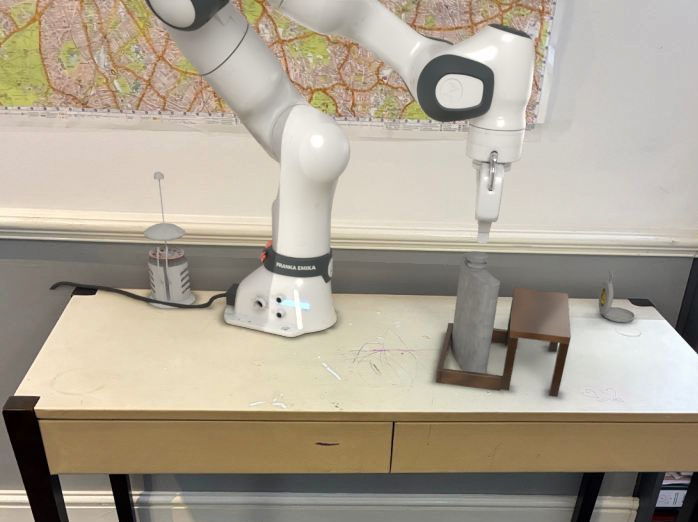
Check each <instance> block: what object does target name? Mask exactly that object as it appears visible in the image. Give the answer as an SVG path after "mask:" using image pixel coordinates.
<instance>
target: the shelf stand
mask: <svg viewBox="0 0 698 522" xmlns="http://www.w3.org/2000/svg"><path fill="white" fill-rule="evenodd" d="M570 320H571V319H570V305H569V294H568V293H565V292H558V291H550V290H549V291H548V290H539V289H531V288H522V287H513V292H512V298H511V304H510V311H509V317H508V322H507V326H506V327H507V328H506V329H504V328H495V327H493V333H492V339H491V343H499V344H504V346H505V347H506V352H505V359H504V365H503V371H502V375H499V374H493V373H486V374H485V373H477V372H469V371H463V370H462V369H461V370H460V369H453V368H446V364H447V358H448V354H449V349H450V347H451V339H452V331H453V323H454V322H448V323H447V327H446V332H445V334H444V335H445V336H444V339H443V342H442V343H443V344H442V348H441V351H440V352H441V353H440V356H439V359H438V364H437V368H436V375H435V383H436V384H437V383H438V384H444V385H453V386H454V385H455V386H460V387H469V388H475V389H477V388H478V389H483V390H491V391H499V392H500V391H510V387H511V381H512V376H513V370H514V365H515V358H516V353H517V347H518V342H519V339H523V340H524V339H526V340H533V341H542V342H549V343H548V352H554V353H556V356H555V362H554V365H553V371H552V376H551V382H550V385H549V389H548V396H549V397H555V398H558V397H559V392H560V387H561V383H562V379H563V375H564V369H565V365H566V361H567V356H568V352H569V348H570V344H571V338H572V337H571V336H572V335H571V321H570Z"/></svg>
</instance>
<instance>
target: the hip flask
mask: <svg viewBox="0 0 698 522" xmlns="http://www.w3.org/2000/svg"><path fill="white" fill-rule="evenodd" d="M489 257H490V255H489V254H488V253H487V252H483V251H469V252H464V253H462V254H461V258H460V267H459V274H458V282H457V291H456V298H455V299H456V300H455V306H454V315H453V322H452V323H453V331H452V337H451V342H450V348H451V352H452V355H453V357H454V360H455V361H456V363H457V365H458V366H459V367H460V369H461V371H469V372H477V373H485V374H487V371H488V364H489V357H490V351H491V345H492V342H491V339H492V333H493V328H494V325H495V319H496V314H497V307H498V306H497V305H498V300H499V294H500V288H501V282H500V280H498V279H497V278H496V277H495V276H493V275H492V274H491V273H490V272H489V271H488V270H487V263H488V262H489Z"/></svg>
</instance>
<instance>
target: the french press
mask: <svg viewBox="0 0 698 522" xmlns="http://www.w3.org/2000/svg"><path fill="white" fill-rule="evenodd" d="M153 179H154V180H157V181H158V186H159V187H158V188H159V197H160V205H161V206H160V207H161V214H162V222H159V223H155V224H153V225H150V226H148V227H147V228H146V229H145V230H144V231H143V235H144V237H145V238H146V239H148V240H150V241H157V242H164V244H165V246H159V245H158V246H157V247H154V248H152V249H150V251H148V256H149V257H148V259H147V266H148V273H149V280H150V281H149V282H150V283H149V284H150V291H151V294H150V295H149V296H148V298H150V299H154V300H158V301H163V302H170V303H179V304H186V305H193V304H194V302H195V301H196V300H197V299H196V295H194V294H193V292H191V287H189V286H190V285H191V284H190V283H191V282H190V281H189V280H190V276H189V275H188V274H190V273H189V271H190V270H189V269H186V268H188V267H189V262H188V258H187V257H186V256H185V255H186V251H185V250H184V249H182V248H179V247H177V246H168V245H167V244H168V243H167V242H171V241H174V240H175V241H176V240H178V239H181V238H183V237H184V236H185V234H187V233H186V230H185V229H183V228H182V227H181V226H178V225H176V224H174V223H169V222H165V215H164V205H163V198H162V187H161V180H164V179H165V175H164V173H163V172H161V171H155V172H154V173H153ZM148 303H149V304H150V305H151V306H153V307H156V308H161V309H181V308H180V307H172V306H167V305H162V304H156V303H151V302H148Z"/></svg>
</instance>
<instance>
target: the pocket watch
mask: <svg viewBox="0 0 698 522" xmlns="http://www.w3.org/2000/svg"><path fill="white" fill-rule="evenodd" d="M608 275H609V277H608V279H609V280H607V281H604V282H603V283H602V285H601V287H600V289H599V294H598V310H599V312H600V313H599V314H601V315H602V316H603V317H604V318H605V319H607V320H609V321H612V322H617V323H629V322H632V321H633V320H635V317H636V315H635V313H634V312H633V311H632V310H629V309H627V308H624V307H618V306H612V305H613V300H614V285H613V283H612V282H613V280H614V274H613V271H612V270H611V269H610V270H609V271H608Z"/></svg>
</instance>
